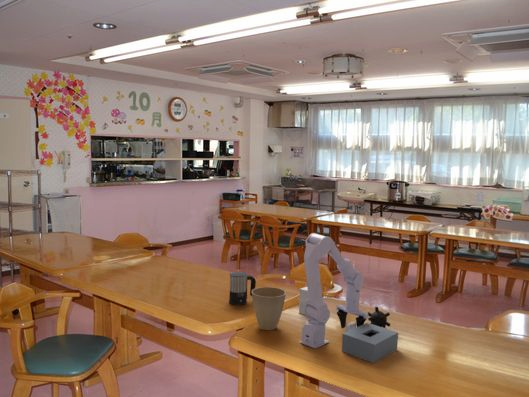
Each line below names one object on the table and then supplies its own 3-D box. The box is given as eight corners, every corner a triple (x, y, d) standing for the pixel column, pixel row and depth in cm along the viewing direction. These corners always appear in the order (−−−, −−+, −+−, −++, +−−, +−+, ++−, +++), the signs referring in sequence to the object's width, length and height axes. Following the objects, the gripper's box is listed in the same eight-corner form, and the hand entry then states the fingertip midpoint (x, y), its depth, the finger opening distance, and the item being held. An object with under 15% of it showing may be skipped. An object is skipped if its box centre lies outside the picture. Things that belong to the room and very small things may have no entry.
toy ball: (384, 330, 195) (360, 317, 202) (385, 339, 203) (362, 326, 209) (395, 311, 199) (371, 299, 206) (396, 321, 207) (373, 309, 213)
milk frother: (235, 306, 227) (236, 277, 225) (217, 298, 238) (218, 270, 237) (257, 301, 236) (259, 273, 235) (238, 293, 248) (240, 266, 246)
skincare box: (305, 310, 225) (306, 286, 224) (312, 312, 223) (314, 288, 222) (298, 313, 221) (299, 288, 220) (305, 315, 218) (306, 290, 217)
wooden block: (349, 337, 194) (350, 325, 193) (345, 335, 195) (345, 324, 195) (355, 334, 197) (356, 322, 197) (351, 332, 199) (352, 321, 198)
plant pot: (267, 318, 211) (268, 284, 210) (291, 328, 201) (293, 292, 199) (243, 326, 201) (244, 290, 199) (267, 336, 190) (268, 299, 189)
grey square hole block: (373, 363, 170) (374, 344, 169) (341, 351, 179) (342, 333, 178) (397, 349, 183) (398, 332, 182) (366, 338, 192) (367, 322, 191)
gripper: (372, 301, 193) (370, 332, 194) (343, 293, 203) (341, 323, 204) (363, 304, 188) (361, 337, 189) (334, 296, 198) (332, 327, 199)
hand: (350, 330), depth 196 cm, fingers open, 7 cm apart
